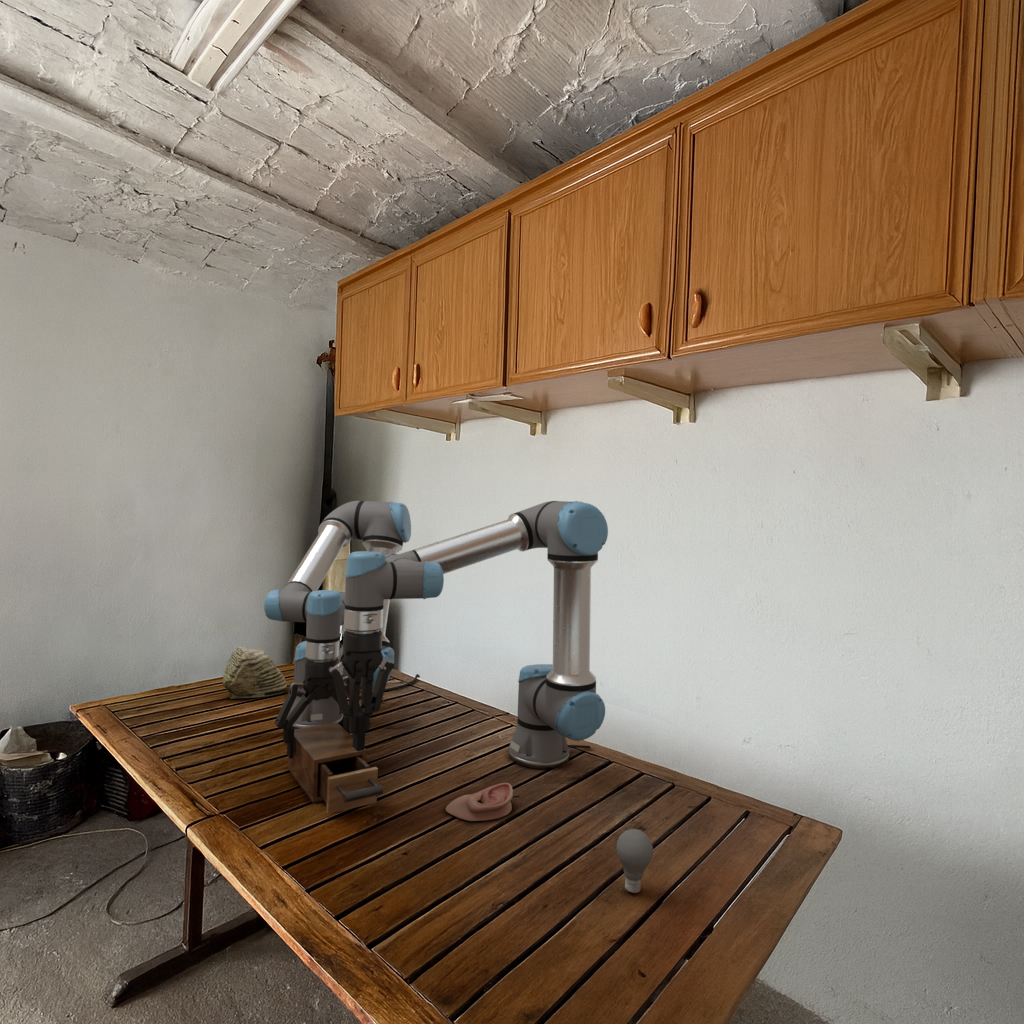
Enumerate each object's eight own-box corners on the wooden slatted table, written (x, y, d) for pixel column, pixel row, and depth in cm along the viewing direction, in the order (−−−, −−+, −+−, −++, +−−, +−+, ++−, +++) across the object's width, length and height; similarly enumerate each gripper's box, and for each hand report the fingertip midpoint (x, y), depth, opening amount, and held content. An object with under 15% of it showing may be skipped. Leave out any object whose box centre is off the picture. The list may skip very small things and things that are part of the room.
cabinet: (365, 790, 137) (366, 749, 137) (312, 802, 131) (314, 760, 131) (335, 758, 153) (337, 722, 153) (287, 768, 147) (289, 730, 147)
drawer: (388, 815, 125) (389, 779, 125) (338, 828, 120) (339, 791, 120) (346, 769, 145) (347, 739, 145) (301, 779, 139) (303, 747, 139)
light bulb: (610, 879, 108) (613, 822, 108) (644, 879, 109) (647, 822, 109) (619, 902, 102) (622, 840, 102) (655, 901, 103) (658, 840, 103)
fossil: (218, 695, 195) (220, 647, 195) (278, 685, 208) (279, 640, 207) (228, 703, 189) (230, 653, 188) (289, 692, 201) (290, 645, 201)
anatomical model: (441, 797, 127) (457, 773, 138) (440, 817, 127) (456, 791, 138) (505, 806, 124) (517, 781, 136) (504, 826, 124) (516, 800, 136)
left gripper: (271, 668, 136) (267, 767, 136) (378, 656, 150) (375, 746, 150) (262, 660, 142) (259, 755, 142) (366, 649, 156) (363, 736, 156)
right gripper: (337, 636, 118) (332, 761, 119) (401, 630, 126) (396, 748, 126) (324, 628, 125) (319, 747, 125) (386, 623, 132) (381, 736, 132)
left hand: (318, 751), depth 146 cm, fingers open, 12 cm apart
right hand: (358, 748), depth 126 cm, fingers closed
